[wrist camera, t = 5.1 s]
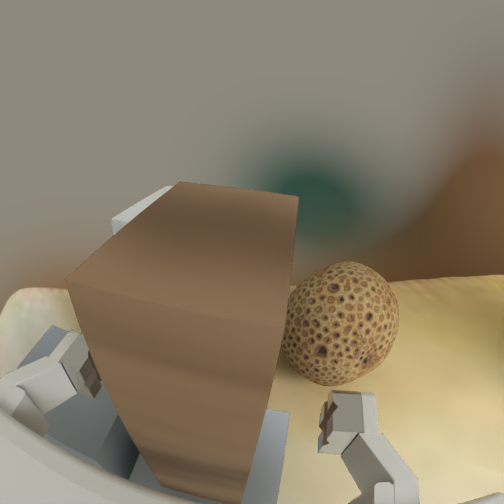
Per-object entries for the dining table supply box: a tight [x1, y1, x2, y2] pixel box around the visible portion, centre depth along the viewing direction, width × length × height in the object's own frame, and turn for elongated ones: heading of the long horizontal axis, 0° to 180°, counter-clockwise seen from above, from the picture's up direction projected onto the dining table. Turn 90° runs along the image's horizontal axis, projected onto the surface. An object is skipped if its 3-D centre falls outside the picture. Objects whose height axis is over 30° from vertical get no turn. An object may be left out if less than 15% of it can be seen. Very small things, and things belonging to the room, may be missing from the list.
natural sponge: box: [281, 262, 399, 386], centre depth 22 cm, size 9×9×10 cm
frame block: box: [65, 182, 299, 504], centre depth 10 cm, size 6×4×13 cm
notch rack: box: [17, 325, 290, 504], centre depth 15 cm, size 7×16×6 cm, turn 80°
